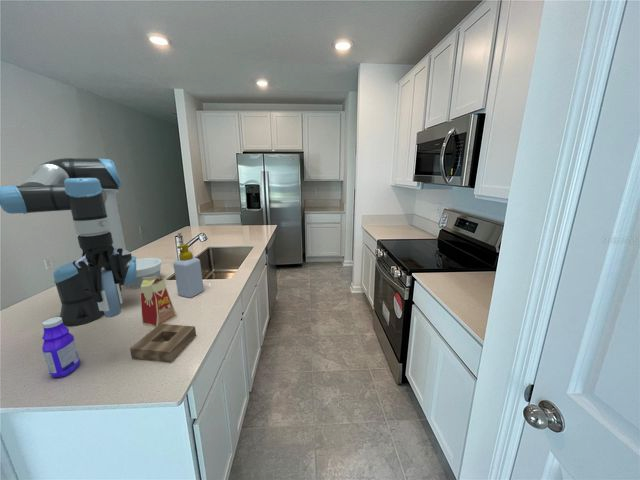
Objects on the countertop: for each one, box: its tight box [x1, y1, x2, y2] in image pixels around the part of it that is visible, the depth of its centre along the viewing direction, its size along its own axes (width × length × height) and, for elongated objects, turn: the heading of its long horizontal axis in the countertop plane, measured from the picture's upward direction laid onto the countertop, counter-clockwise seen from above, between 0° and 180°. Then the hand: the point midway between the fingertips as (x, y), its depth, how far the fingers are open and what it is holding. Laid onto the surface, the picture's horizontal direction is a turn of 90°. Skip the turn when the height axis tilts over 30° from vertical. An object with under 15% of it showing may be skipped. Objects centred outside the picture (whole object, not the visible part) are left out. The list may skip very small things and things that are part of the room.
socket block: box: [129, 323, 197, 364], centre depth 92 cm, size 14×14×4 cm
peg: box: [101, 270, 122, 318], centre depth 81 cm, size 4×4×14 cm
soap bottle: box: [172, 243, 205, 298], centre depth 128 cm, size 9×9×25 cm
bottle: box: [41, 316, 81, 378], centre depth 79 cm, size 7×6×17 cm
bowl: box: [127, 257, 162, 289], centre depth 142 cm, size 19×19×11 cm
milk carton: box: [140, 276, 178, 328], centre depth 106 cm, size 9×9×20 cm
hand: (111, 306), depth 82 cm, fingers closed on peg, 4 cm apart
